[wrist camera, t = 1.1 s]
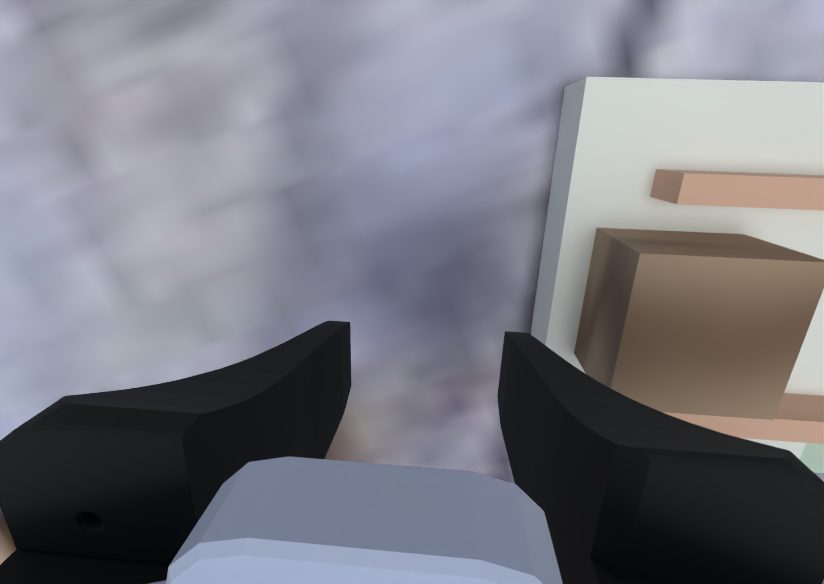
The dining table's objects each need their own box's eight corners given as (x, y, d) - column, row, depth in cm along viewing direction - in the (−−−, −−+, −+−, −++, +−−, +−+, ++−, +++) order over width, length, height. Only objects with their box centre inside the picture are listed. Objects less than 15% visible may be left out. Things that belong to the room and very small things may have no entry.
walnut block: (706, 361, 18) (773, 420, 14) (573, 353, 18) (605, 408, 15) (744, 234, 16) (833, 262, 12) (596, 227, 17) (640, 253, 13)
